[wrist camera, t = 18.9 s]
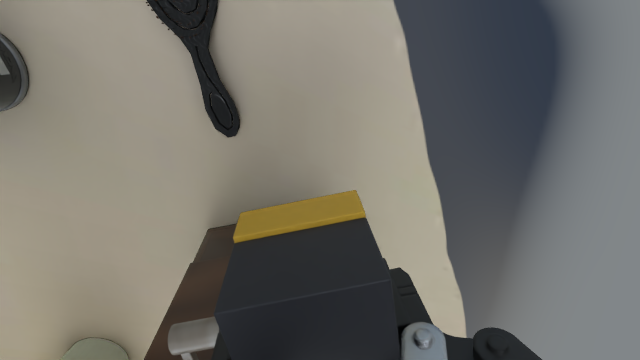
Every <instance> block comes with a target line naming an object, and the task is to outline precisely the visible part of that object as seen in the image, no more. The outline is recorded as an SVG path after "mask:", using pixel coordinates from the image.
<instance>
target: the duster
mask: <svg viewBox="0 0 640 360" xmlns="http://www.w3.org/2000/svg"><path fill="white" fill-rule="evenodd" d="M233 240H234V243H235V244H234V246H233V250H232V253H231V256H230V260H229V263H228V266H227V270H226V273H225V276H224V280H223V283H222V286H221V290H220V293H219V297H218V300H217V303H216V307H215V310H214V317H215V319H216V322H217V324H218V327H219V329H220V332H221V334H222V337H223V339H224V342H225V344H226V347H227V349H228V352H229V354H230V356H231V359H232V360H401V353H400V345H399V337H398V330H397V322H396V314H395V306H394V298H393V290H392V282H391V277H390V275H389V273H388V270H387V268H386V265H385V263H384V260H383V258H382V255H381V253H380V251H379V248H378V246H377V243H376V241H375V238H374V236H373V234H372V231H371V229H370V226H369V224H368V221H367V219H366V215H365V211H364V208H363V206H362V203H361V201H360V199H359V196H358V194H357V191H356V190H353V191H348V192H343V193H338V194H333V195H328V196H322V197H317V198H312V199H307V200H302V201H297V202H292V203H287V204H282V205H277V206H272V207H267V208H262V209H257V210H252V211H247V212H242V213H240V216H239V220H238V223H237V226H236V229H235V232H234V235H233Z"/></svg>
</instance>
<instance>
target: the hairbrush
mask: <svg viewBox="0 0 640 360" xmlns="http://www.w3.org/2000/svg"><path fill="white" fill-rule="evenodd" d="M198 1H199V5H198ZM158 2H159V3H158ZM146 3H149V4H150V6H151V7H152V9H153V10H154V11H155V13H156V14H157V16H156V17H157V18H158V19H160V20H161V21H162V22H164V23H165V24H166V25H167V26H168V27H169V28H170V29H171V30H172V31H173V32H174V33H175V34H174V35H177V36H178V37H179V38H180V39H181V40H182V42H183V43H184V45H185V46H186V48H187V49H188V51H189V52H190V54H191V56H192V60H193V63H194V66H195V69H196V72H197V76H198V79H199V82H200V85H201V90H202V95H203V100H204V104H205V109H206V112H207V114H208V115H209V117H210V119H211V121H212V123H213V125H214V127H215V128H216V129H217V130H218V131H220V132H221V133H222V134H224V135H225V136H227V137H232V136H236V134H237V132H238V129H239V125H240V119H239V116H238V112H237V109H236V107H235V104H234V102H233V100H232V98H231V97H230V95H229V93H228V92H227V90H226V88H225V87H224V85H223V83H222V82H221V80H220V78H219V75H218V73H217V70H216V68H215V65H214V63H213V60H212V58H211V55H210V53H209V49H208V47H209V39H210V31H211V28H212V25H213V22H214V18H215V15H216V11H217V3H218V0H209V6H208V0H147V2H146ZM160 5H161V6H160ZM174 5H175V6H176V7H177V8H179V9H180V10H181V11H183V12H184V13H190V12H193V11H194V12H193V13H192V14H184V13H182V12H180V11H179V10H178V9H177V8H176V7H175V6H174ZM197 5H198V8H197ZM148 6H149V5H148ZM207 6H208V7H209V9H208V11H207ZM162 8H163V9H162ZM152 9H151V10H152ZM153 10H152V11H153ZM164 11H165V12H166V13H165V12H164ZM206 12H207V13H206ZM167 14H168V15H169V16H170V17H171V18H172V19H173V20H174V21H175V22H176V23H175V22H174V21H173V20H172V19H171V18H170V17H169V16H168V15H167ZM204 19H205V20H204ZM203 20H204V22H203V23H202V24H201V25H200V23H201V22H202V21H203ZM164 23H162V24H164ZM178 24H179V25H181V26H183V27H186V28H188V29H185V28H182V27H180V26H179V25H178ZM199 25H200V26H199ZM197 26H199V27H198V28H197V29H196V30H189V28H190V29H192V28H196V27H197ZM170 29H168V30H170ZM197 48H198V49H197ZM198 53H199V54H198ZM205 70H206V71H205ZM206 72H207V73H206ZM207 74H208V75H207ZM208 76H209V77H208ZM216 87H217V88H216ZM219 91H220V92H219ZM211 93H212V94H211ZM210 94H211V98H210ZM222 95H223V96H222ZM224 98H225V99H224ZM211 102H212V106H211ZM230 110H231V111H230ZM231 112H232V114H231ZM232 116H233V118H232ZM232 121H233V126H232ZM231 126H232V127H231ZM229 127H231V128H230V129H229Z"/></svg>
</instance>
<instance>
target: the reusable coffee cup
mask: <svg viewBox="0 0 640 360" xmlns="http://www.w3.org/2000/svg"><path fill="white" fill-rule="evenodd" d="M60 360H128V356H127V354H126V352H125V351H124V350H123V349H122V348H121V347H120V346H119V345H117V344H116V343H114V342H112V341H109V340H106V339H101V338H88V339H83V340H81V341H78V342H77V343H75V344H74V345H73V346H72V347H71V348H70V349H69V350H68V352H67V353H66V354H65V355H64V356H63V357H62V358H61V359H60Z"/></svg>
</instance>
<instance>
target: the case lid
mask: <svg viewBox="0 0 640 360" xmlns="http://www.w3.org/2000/svg"><path fill="white" fill-rule="evenodd" d="M229 260H230V256H227V257H221V258H216V259H211V260H205V261H200V262H195V263H190V265H189V267H188V269H187V272H186V274H185V276H184V278H183V280H182V282H181V284H180V286H179V288H178V290H177V292H176V294H175V296H174V298H173V300H172V302H171V305H170V307H169V309H168V311H167V313H166V315H165V317H164V319H163V321H162V323H161V325H160V327H159V329H158V331H157V333H156V335H155V338H154V340H153V342H152V344H151V346H150V348H149V350H148V352H147V354H146V356H145V358H144V360H211V358H212V354H213V350H214V346H215V343H216V339H217V335H218V332H219V327H218V324H217V322H216V319H215V317H214V310H215V307H216V303H217V300H218V297H219V293H220V290H221V286H222V283H223V280H224V276H225V273H226V270H227V266H228V263H229Z"/></svg>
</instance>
